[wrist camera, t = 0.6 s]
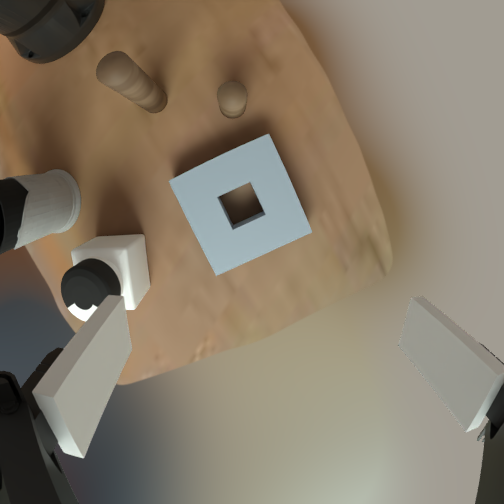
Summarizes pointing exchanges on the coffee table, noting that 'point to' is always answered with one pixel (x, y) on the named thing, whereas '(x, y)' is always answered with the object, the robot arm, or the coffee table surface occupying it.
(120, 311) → the robot arm
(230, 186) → the collar plate
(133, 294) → the medicine bottle
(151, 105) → the long pin
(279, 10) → the coffee table surface
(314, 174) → the coffee table surface
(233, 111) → the short pin
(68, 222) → the grey black mug
